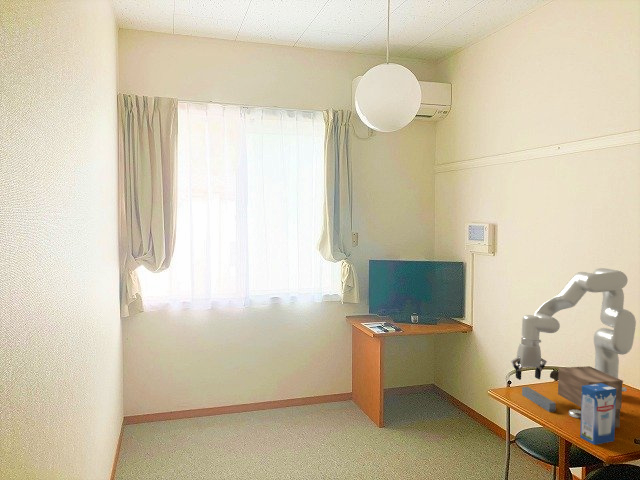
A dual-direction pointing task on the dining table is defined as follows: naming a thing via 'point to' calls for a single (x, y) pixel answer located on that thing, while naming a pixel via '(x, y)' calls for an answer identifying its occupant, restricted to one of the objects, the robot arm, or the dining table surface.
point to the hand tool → (554, 374)
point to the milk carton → (598, 413)
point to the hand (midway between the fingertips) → (527, 378)
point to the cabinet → (580, 376)
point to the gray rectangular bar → (539, 399)
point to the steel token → (575, 413)
